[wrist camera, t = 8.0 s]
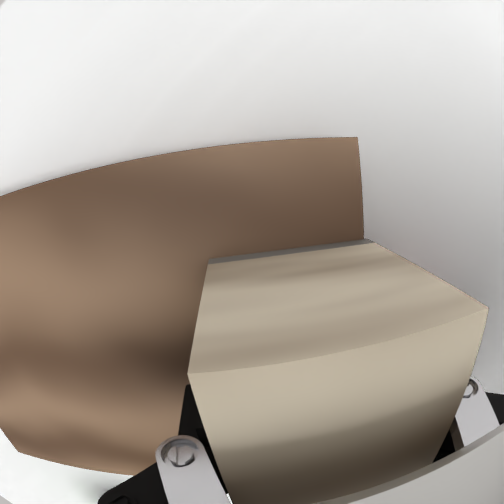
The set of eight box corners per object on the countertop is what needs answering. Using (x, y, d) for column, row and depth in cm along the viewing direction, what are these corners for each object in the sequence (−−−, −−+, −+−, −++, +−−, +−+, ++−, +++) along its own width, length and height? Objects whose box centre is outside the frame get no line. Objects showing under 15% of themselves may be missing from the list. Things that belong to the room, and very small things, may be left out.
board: (335, 433, 15) (344, 457, 13) (27, 434, 14) (18, 451, 12) (337, 142, 11) (357, 137, 9) (-59, 223, 10) (-80, 230, 8)
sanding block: (355, 419, 12) (400, 513, 7) (243, 440, 12) (253, 548, 6) (367, 238, 10) (489, 307, 4) (208, 259, 10) (187, 373, 4)
